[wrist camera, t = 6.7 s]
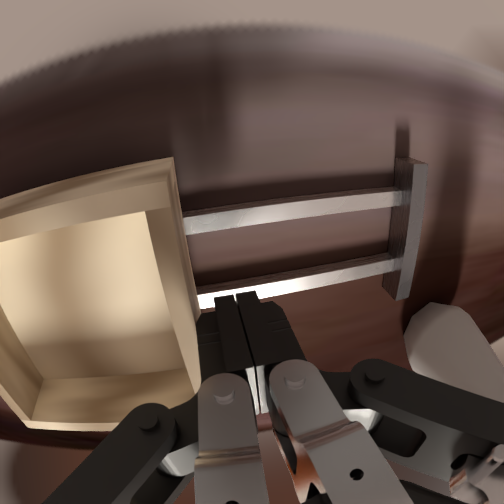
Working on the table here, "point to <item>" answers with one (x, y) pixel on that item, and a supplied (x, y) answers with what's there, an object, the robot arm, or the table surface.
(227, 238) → the table surface
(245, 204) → the rail
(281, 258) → the table surface
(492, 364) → the salt shaker
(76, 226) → the wooden tray
